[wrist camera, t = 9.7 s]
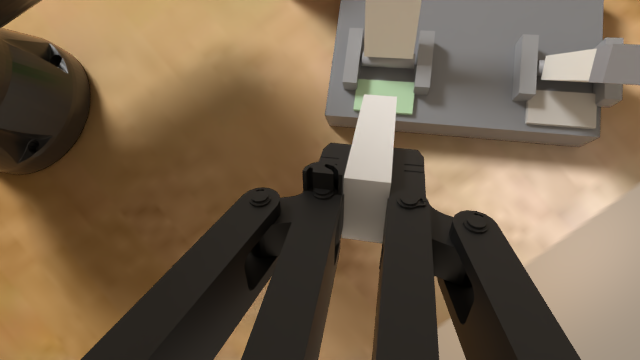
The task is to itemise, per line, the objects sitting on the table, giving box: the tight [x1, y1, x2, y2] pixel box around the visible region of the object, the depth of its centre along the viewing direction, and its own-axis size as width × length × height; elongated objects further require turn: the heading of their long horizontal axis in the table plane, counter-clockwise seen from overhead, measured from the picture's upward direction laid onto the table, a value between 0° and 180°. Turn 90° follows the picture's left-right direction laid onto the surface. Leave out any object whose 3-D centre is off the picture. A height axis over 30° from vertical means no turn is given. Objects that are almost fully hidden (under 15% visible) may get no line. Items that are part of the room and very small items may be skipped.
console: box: [325, 0, 623, 147], centre depth 32 cm, size 23×14×5 cm, turn 82°
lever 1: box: [362, 0, 421, 69], centre depth 28 cm, size 4×2×11 cm, turn 82°
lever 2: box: [537, 44, 640, 85], centre depth 24 cm, size 4×2×11 cm, turn 82°
